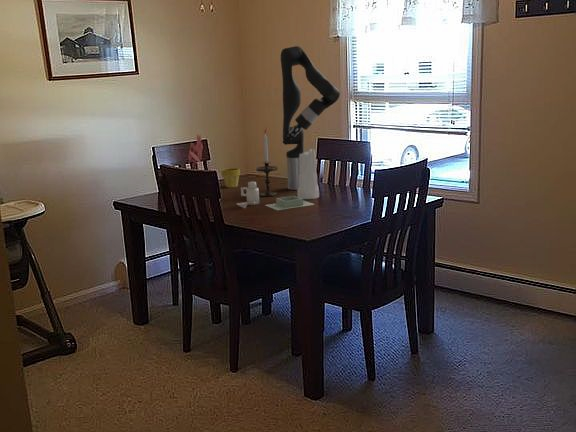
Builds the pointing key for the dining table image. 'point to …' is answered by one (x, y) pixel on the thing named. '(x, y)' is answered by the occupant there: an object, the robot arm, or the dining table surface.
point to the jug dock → (288, 203)
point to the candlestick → (266, 170)
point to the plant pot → (231, 177)
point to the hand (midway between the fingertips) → (284, 142)
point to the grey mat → (242, 204)
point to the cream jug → (251, 193)
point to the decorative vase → (308, 176)
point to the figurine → (198, 149)
